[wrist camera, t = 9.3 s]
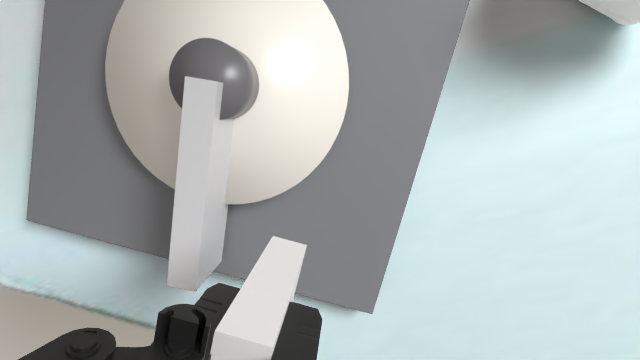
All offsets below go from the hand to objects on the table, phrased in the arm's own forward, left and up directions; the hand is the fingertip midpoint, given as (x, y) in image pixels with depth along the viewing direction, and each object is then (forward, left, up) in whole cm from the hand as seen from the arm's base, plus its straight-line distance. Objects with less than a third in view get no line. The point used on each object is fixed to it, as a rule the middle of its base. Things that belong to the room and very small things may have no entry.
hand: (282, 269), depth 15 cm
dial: (-5, -6, -7) cm, 11 cm away
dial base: (-7, -6, -9) cm, 13 cm away
